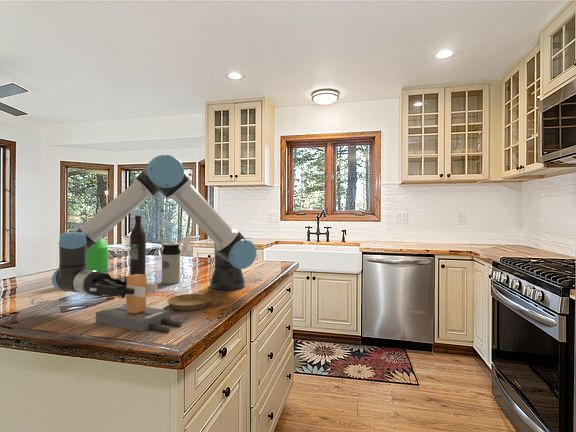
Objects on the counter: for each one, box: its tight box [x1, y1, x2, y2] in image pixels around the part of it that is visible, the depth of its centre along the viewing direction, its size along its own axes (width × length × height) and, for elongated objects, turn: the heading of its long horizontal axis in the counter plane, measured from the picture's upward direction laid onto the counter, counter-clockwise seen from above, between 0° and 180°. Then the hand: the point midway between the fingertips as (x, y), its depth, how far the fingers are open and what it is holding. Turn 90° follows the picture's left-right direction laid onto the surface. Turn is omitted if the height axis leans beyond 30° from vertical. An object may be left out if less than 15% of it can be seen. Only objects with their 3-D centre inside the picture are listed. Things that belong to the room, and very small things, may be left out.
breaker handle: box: [125, 274, 147, 314], centre depth 103 cm, size 4×4×11 cm
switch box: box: [95, 303, 183, 333], centre depth 102 cm, size 25×11×3 cm, turn 68°
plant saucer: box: [166, 293, 212, 311], centre depth 121 cm, size 15×15×3 cm
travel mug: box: [161, 242, 181, 285], centre depth 158 cm, size 8×8×18 cm
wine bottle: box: [129, 215, 147, 275], centre depth 171 cm, size 7×7×30 cm
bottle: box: [86, 237, 109, 274], centre depth 156 cm, size 9×9×25 cm
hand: (150, 290), depth 101 cm, fingers closed on breaker handle, 4 cm apart
